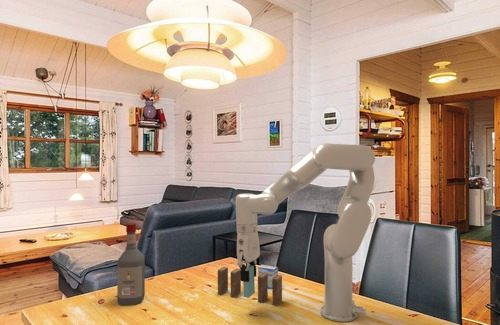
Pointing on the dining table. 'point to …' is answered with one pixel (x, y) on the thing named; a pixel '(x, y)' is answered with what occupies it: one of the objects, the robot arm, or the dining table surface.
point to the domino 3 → (249, 283)
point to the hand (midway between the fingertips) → (248, 278)
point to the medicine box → (271, 273)
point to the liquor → (131, 271)
